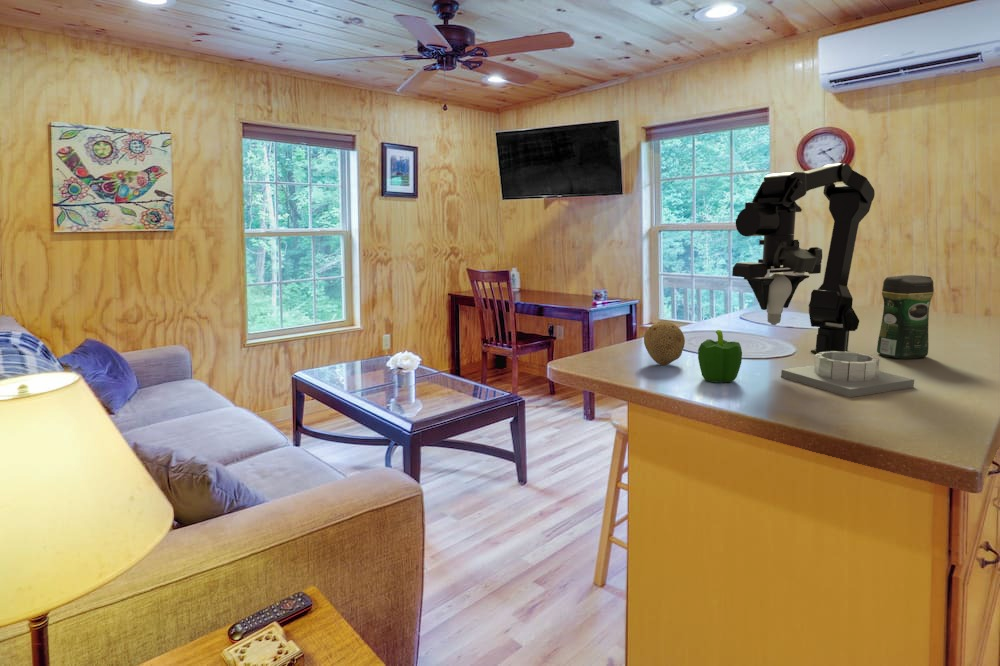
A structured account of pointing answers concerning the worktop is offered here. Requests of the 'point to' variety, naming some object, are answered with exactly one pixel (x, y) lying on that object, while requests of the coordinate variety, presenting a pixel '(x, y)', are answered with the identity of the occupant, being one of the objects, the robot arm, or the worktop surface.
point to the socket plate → (848, 382)
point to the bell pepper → (719, 359)
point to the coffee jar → (905, 316)
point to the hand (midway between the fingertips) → (774, 308)
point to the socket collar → (846, 366)
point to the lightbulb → (777, 297)
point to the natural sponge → (664, 342)
